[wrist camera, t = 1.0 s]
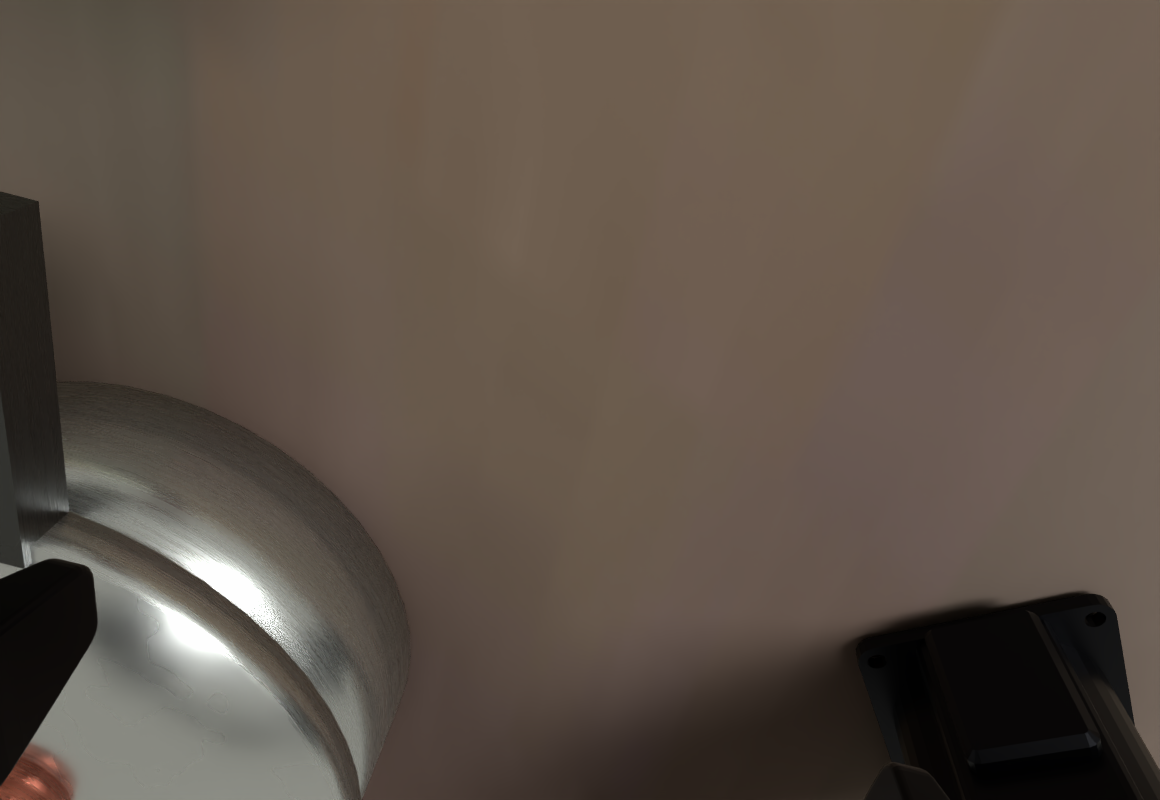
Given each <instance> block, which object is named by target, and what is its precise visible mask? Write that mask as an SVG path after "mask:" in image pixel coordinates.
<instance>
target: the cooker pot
mask: <svg viewBox="0 0 1160 800" xmlns="http://www.w3.org/2000/svg"><path fill="white" fill-rule="evenodd" d="M57 392H58V403H59V413H60V423H61V433H62V443H63V453H64V463H65V473H66V483H67V493H68V503H69V512H71V513H74V514H76V515H79V516H81V517H84V518H86V519H88V520H91V521H93V522H96V523H98V524H101V525H103V526H106V527H108V528H110V529H113V530H115V531H117V532H119V533H121V534H123V535H125V536H127V537H129V538H131V539H132V540H134V541H136V542H138V543H140V544H142V545H144V546H146V547H148V548H150V549H152V550H154V551H156V552H158V553H160V554H161V555H163V556H165V557H166V558H168V559H169V560H171V561H173V562H174V563H176V564H177V565H179V566H180V567H182V568H184V569H185V570H187V571H188V572H190V573H192V574H193V575H195V576H196V577H198V578H199V579H201V580H203V581H204V582H206V583H207V584H208V585H210V586H211V587H212V588H214V589H215V590H216V591H217V592H219V593H220V594H221V595H223V596H224V597H225V598H227V599H228V600H229V601H230V602H232V603H233V604H234V605H236V606H237V607H238V608H240V609H241V610H242V611H244V612H245V613H246V614H247V615H248V616H249V617H250V618H251V619H252V620H253V621H255V622H256V623H257V624H258V625H259V626H260V627H261V628H262V629H263V630H264V631H265V632H266V633H267V634H269V635H270V636H271V637H272V638H273V639H274V640H275V641H276V642H277V643H278V644H279V645H280V646H281V647H282V648H283V649H284V650H285V652H286V653H287V654H288V655H289V656H290V657H291V658H292V660H293V661H294V662H295V663H296V664H297V665H298V666H299V668H300V669H301V670H302V671H303V672H304V673H305V674H306V676H307V677H308V678H309V679H310V681H311V682H312V684H313V685H314V687H315V688H316V690H317V691H318V692H319V694H320V695H321V697H322V698H323V700H324V701H325V703H326V704H327V705H328V707H329V708H330V710H331V712H332V714H333V716H334V718H335V719H336V721H337V723H338V725H339V727H340V729H341V731H342V733H343V735H344V737H345V739H346V741H347V743H348V746H349V749H350V752H351V755H352V758H353V761H354V764H355V767H356V770H357V774H358V780H359V787H360V793H361V800H362V798H363V796H364V793H365V791H366V788H367V785H368V783H369V780H370V778H371V775H372V773H373V770H374V767H375V765H376V762H377V760H378V757H379V755H380V752H381V749H382V747H383V744H384V742H385V739H386V737H387V734H388V731H389V729H390V726H391V724H392V721H393V719H394V716H395V713H396V711H397V708H398V706H399V703H400V700H401V697H402V695H403V692H404V689H405V686H406V683H407V679H408V672H409V665H410V658H411V654H410V631H409V626H408V622H407V617H406V612H405V607H404V604H403V601H402V598H401V596H400V593H399V590H398V587H397V585H396V582H395V579H394V577H393V575H392V573H391V571H390V570H389V568H388V566H387V564H386V562H385V560H384V558H383V557H382V555H381V553H380V551H379V549H378V548H377V546H376V545H375V544H374V542H373V541H372V539H371V538H370V537H369V535H368V534H367V532H366V531H365V529H364V528H363V527H362V525H361V524H360V522H359V521H358V520H357V519H356V518H355V517H354V516H353V515H352V513H351V512H350V511H349V510H348V509H347V508H346V507H345V506H344V504H343V503H342V502H341V501H340V500H339V499H338V498H337V497H336V495H334V494H333V493H332V492H331V491H330V490H329V489H328V488H327V487H326V486H325V485H323V484H322V483H321V482H320V481H319V480H318V479H317V478H316V477H315V476H314V475H312V474H311V473H310V472H309V471H308V470H307V469H305V468H304V467H303V466H301V465H300V464H299V463H297V462H296V461H295V460H293V459H292V458H291V457H289V456H288V455H286V454H285V453H284V452H282V451H281V450H280V449H278V448H277V447H276V446H274V445H272V444H271V443H269V442H267V441H266V440H264V439H262V438H260V437H259V436H257V435H255V434H254V433H252V432H250V431H249V430H247V429H245V428H244V427H242V426H240V425H238V424H236V423H234V422H232V421H229V420H227V419H225V418H223V417H221V416H219V415H217V414H214V413H212V412H210V411H208V410H206V409H204V408H201V407H198V406H195V405H192V404H189V403H186V402H184V401H181V400H178V399H175V398H172V397H169V396H167V395H162V394H158V393H154V392H150V391H145V390H141V389H137V388H133V387H129V386H121V385H112V384H104V383H96V382H57Z"/></svg>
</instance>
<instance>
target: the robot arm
mask: <svg viewBox="0 0 1160 800" xmlns="http://www.w3.org/2000/svg"><path fill="white" fill-rule="evenodd" d="M1093 612H1097V613H1096V614H1094V615H1092V616H1087V615H1088V614H1090V613H1093ZM97 626H98V613H97V604H96V595H95V586H94V577H93V573H92V571H91V570H90V569H89V567H87V566H85V565H82V564H78V563H74V562H70V561H66V560H62V559H56V558H51V559H46V560H43V561H41V562H38V563H36V564H33V565H31V566H29V567H26V568H24V569H22V570H19V571H17V572H15V573H12V574H10V575H8V576H5V577H3V578H1V579H0V786H1V785H2V784H3V782H4V781H5V780H6V778H7V777H8V775H9V774H10V773H11V771H12V770H13V768H14V767H15V765H16V764H17V762H18V761H19V759H20V758H21V756H22V755H23V753H24V752H25V750H26V748H27V747H28V745H29V743H30V742H31V740H32V739H33V737H34V735H35V734H36V732H37V731H38V729H39V727H40V726H41V724H42V722H43V721H44V719H45V718H46V716H47V714H48V713H49V711H50V710H51V708H52V706H53V705H54V703H55V701H56V700H57V698H58V697H59V695H60V693H61V692H62V690H63V689H64V687H65V685H66V684H67V682H68V680H69V679H70V677H71V676H72V674H73V672H74V671H75V669H76V667H77V666H78V664H79V663H80V661H81V659H82V658H83V656H84V655H85V653H86V651H87V650H88V648H89V646H90V645H91V643H92V641H93V639H94V637H95V634H96V631H97ZM856 655H857V660H858V664H859V667H860V670H861V673H862V676H863V679H864V682H865V685H866V688H867V691H868V694H869V696H870V699H871V702H872V705H873V708H874V711H875V714H876V717H877V720H878V723H879V726H880V729H881V732H882V734H883V737H884V740H885V743H886V746H887V749H888V752H889V755H890V758H891V761H892V762H889V763H887V764H886V765H884V766H883V768H882V769H881V771H880V772H879V774H878V776H877V778H876V779H875V781H874V783H873V785H872V786H871V788H870V790H869V791H868V793H867V795H866V797H865V798H864V800H1160V770H1159V768H1158V766H1157V765H1156V763H1155V761H1154V759H1153V758H1152V756H1151V754H1150V752H1149V751H1148V749H1147V747H1146V745H1145V744H1144V742H1143V740H1142V738H1141V737H1140V735H1139V733H1138V731H1137V730H1136V728H1135V725H1134V719H1133V712H1132V706H1131V700H1130V694H1129V688H1128V682H1127V676H1126V669H1125V663H1124V657H1123V651H1122V645H1121V639H1120V633H1119V627H1118V620H1117V615H1116V613H1115V611H1114V609H1113V608H1112V606H1111V605H1110V603H1109V601H1108V600H1107V599H1106V598H1104V597H1103V596H1101V595H1097V594H1087V595H1081V596H1077V597H1072V598H1067V599H1062V600H1057V601H1052V602H1047V603H1042V604H1037V605H1032V606H1027V607H1022V608H1017V609H1012V610H1007V611H1002V612H997V613H992V614H987V615H982V616H977V617H972V618H967V619H962V620H957V621H952V622H947V623H942V624H937V625H932V626H927V627H922V628H917V629H912V630H907V631H903V632H898V633H893V634H888V635H883V636H878V637H873V638H869V639H866V640H863V641H862V642H861V643H860V644H858V646H857V648H856ZM873 655H881V656H879V657H877V658H871V656H873Z"/></svg>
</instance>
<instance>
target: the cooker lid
mask: <svg viewBox="0 0 1160 800" xmlns="http://www.w3.org/2000/svg"><path fill="white" fill-rule="evenodd" d="M51 558H56V559H62V560H66V561H70V562H74V563H78V564H82V565H85V566H87V567H89V569H90V570H91V571H92V573H93V577H94V586H95V595H96V604H97V613H98V626H97V631H96V634H95V637H94V639H93V641H92V643H91V645H90V646H89V648H88V650H87V651H86V653H85V655H84V656H83V658H82V659H81V661H80V663H79V664H78V666H77V667H76V669H75V671H74V672H73V674H72V676H71V677H70V679H69V680H68V682H67V684H66V685H65V687H64V689H63V690H62V692H61V693H60V695H59V697H58V698H57V700H56V701H55V703H54V705H53V706H52V708H51V710H50V711H49V713H48V714H47V716H46V718H45V719H44V721H43V722H42V724H41V726H40V727H39V729H38V731H37V732H36V734H35V735H34V737H33V739H32V740H31V742H30V743H29V745H28V747H27V748H26V750H25V752H24V753H23V755H22V756H21V758H20V759H19V761H18V762H17V764H16V765H15V767H14V768H13V770H12V771H11V773H10V774H9V775H8V777H7V778H6V780H5V781H4V782H3V784H2V785H1V786H0V800H361V793H360V787H359V780H358V774H357V770H356V767H355V764H354V761H353V758H352V755H351V752H350V749H349V746H348V743H347V741H346V739H345V737H344V735H343V733H342V731H341V729H340V727H339V725H338V723H337V721H336V719H335V718H334V716H333V714H332V712H331V710H330V708H329V707H328V705H327V704H326V703H325V701H324V700H323V698H322V697H321V695H320V694H319V692H318V691H317V690H316V688H315V687H314V685H313V684H312V682H311V681H310V679H309V678H308V677H307V676H306V674H305V673H304V672H303V671H302V670H301V669H300V668H299V666H298V665H297V664H296V663H295V662H294V661H293V660H292V658H291V657H290V656H289V655H288V654H287V653H286V652H285V650H284V649H283V648H282V647H281V646H280V645H279V644H278V643H277V642H276V641H275V640H274V639H273V638H272V637H271V636H270V635H269V634H267V633H266V632H265V631H264V630H263V629H262V628H261V627H260V626H259V625H258V624H257V623H256V622H255V621H253V620H252V619H251V618H250V617H249V616H248V615H247V614H246V613H245V612H244V611H242V610H241V609H240V608H238V607H237V606H236V605H234V604H233V603H232V602H230V601H229V600H228V599H227V598H225V597H224V596H223V595H221V594H220V593H219V592H217V591H216V590H215V589H214V588H212V587H211V586H210V585H208V584H207V583H206V582H204V581H203V580H201V579H199V578H198V577H196V576H195V575H193V574H192V573H190V572H188V571H187V570H185V569H184V568H182V567H180V566H179V565H177V564H176V563H174V562H173V561H171V560H169V559H168V558H166V557H165V556H163V555H161V554H160V553H158V552H156V551H154V550H152V549H150V548H148V547H146V546H144V545H142V544H140V543H138V542H136V541H134V540H132V539H131V538H129V537H127V536H125V535H123V534H121V533H119V532H117V531H115V530H113V529H110V528H108V527H106V526H103V525H101V524H98V523H96V522H93V521H91V520H88V519H86V518H84V517H81V516H79V515H76V514H74V513H71V512H69V503H68V493H67V483H66V473H65V463H64V453H63V443H62V433H61V423H60V413H59V403H58V392H57V382H56V372H55V362H54V352H53V342H52V332H51V322H50V312H49V302H48V292H47V282H46V272H45V262H44V252H43V242H42V232H41V222H40V212H39V202H38V201H35V200H31V199H27V198H23V197H20V196H16V195H12V194H8V193H4V192H0V579H1V578H3V577H5V576H8V575H10V574H12V573H15V572H17V571H19V570H22V569H24V568H26V567H29V566H31V565H33V564H36V563H38V562H41V561H43V560H46V559H51Z"/></svg>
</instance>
